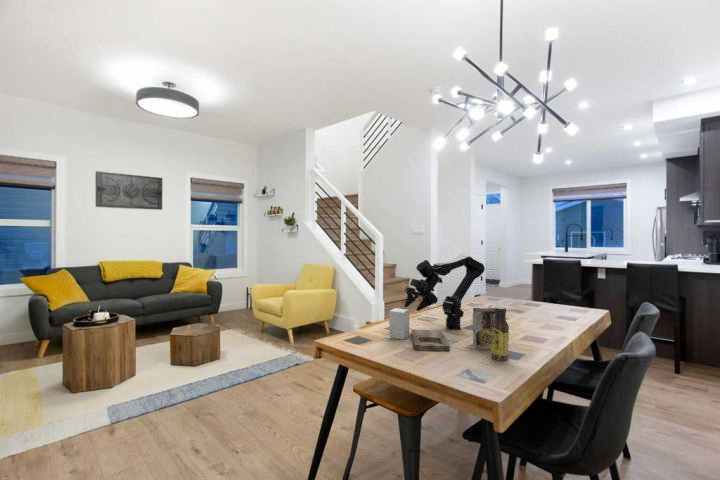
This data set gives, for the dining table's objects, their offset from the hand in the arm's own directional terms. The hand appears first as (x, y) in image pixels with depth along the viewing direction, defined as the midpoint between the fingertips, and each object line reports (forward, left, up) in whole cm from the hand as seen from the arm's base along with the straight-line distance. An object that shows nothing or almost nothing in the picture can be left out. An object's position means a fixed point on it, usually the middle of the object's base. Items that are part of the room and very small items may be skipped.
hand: (411, 308), depth 169 cm
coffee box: (-30, +15, -13) cm, 36 cm away
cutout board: (-7, +10, -13) cm, 18 cm away
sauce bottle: (-32, +29, -13) cm, 45 cm away
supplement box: (+6, +4, -13) cm, 14 cm away
